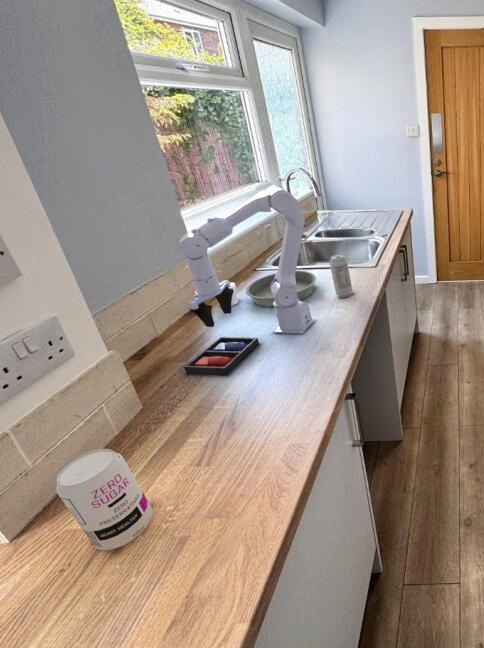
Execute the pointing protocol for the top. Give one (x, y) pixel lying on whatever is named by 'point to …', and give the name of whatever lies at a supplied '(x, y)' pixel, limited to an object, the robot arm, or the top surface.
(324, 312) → the top surface
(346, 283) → the grey cylinder
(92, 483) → the supplement can
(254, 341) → the black divided tray
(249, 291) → the cake pan
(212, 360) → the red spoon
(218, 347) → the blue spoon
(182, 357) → the top surface
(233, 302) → the white cup
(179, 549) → the top surface
